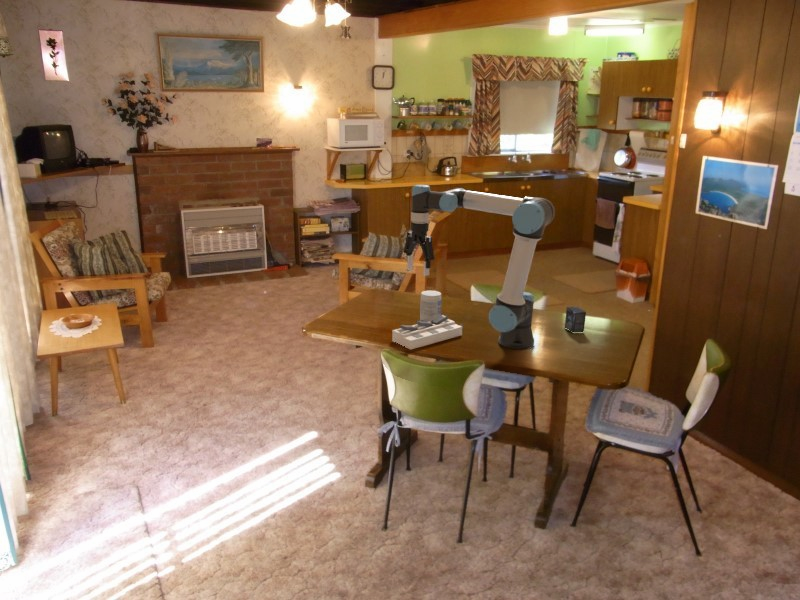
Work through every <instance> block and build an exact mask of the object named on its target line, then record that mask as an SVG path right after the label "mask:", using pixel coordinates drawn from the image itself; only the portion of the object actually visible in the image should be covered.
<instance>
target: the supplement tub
mask: <svg viewBox="0 0 800 600" xmlns="http://www.w3.org/2000/svg"><path fill="white" fill-rule="evenodd" d="M419 305H420V307H419V310H420V311H419V312H420V313H419V315H420V316H419V321H425V322H427V321H431V320H434V319H435V318H437V317H439V316H441V315H442V293H441V292H440V291H438V290H423V291H421V293H420V304H419Z"/></svg>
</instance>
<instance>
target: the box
mask: <svg viewBox="0 0 800 600" xmlns="http://www.w3.org/2000/svg"><path fill="white" fill-rule="evenodd" d="M586 315H587V311H585V310H583V309H582V308H580V307H579V306H567V307H566V311H565V320H564V329H565V328H567V329H569V330H570V331H572V332H583V331H584V332H585V326H586V325H585V324H586Z"/></svg>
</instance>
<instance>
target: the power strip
mask: <svg viewBox="0 0 800 600" xmlns="http://www.w3.org/2000/svg"><path fill="white" fill-rule="evenodd" d="M431 321H432V320H431ZM431 321H427V322H430V323H431ZM411 326H415V327H417V330H416V331H411V330H403V329H401V328H400V327H399V328H396V329H392V330H391V331H392V333H391V334H392V336H391V337H392V343H395V342H396V343H395V344H397V343H398V345H399V344H400V346H401V345H402V347H404V346H405V348H406V349H408V350H414V349H415V350H416V349H417V348H421V347H425V346H428V345H432V344H435V343H440V342H442V341H446V340H449V339H453V338H457V337H461V336H463V328H464V324H457V323H456V322H455V321H454V320H452V319H450V318H448V319H447V320H445V321H444V322H442V323H440V324H438V325H435V324H433V326H431V327H428V326H419V325H417V324H416V323H415V324H412V325H411Z"/></svg>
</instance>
